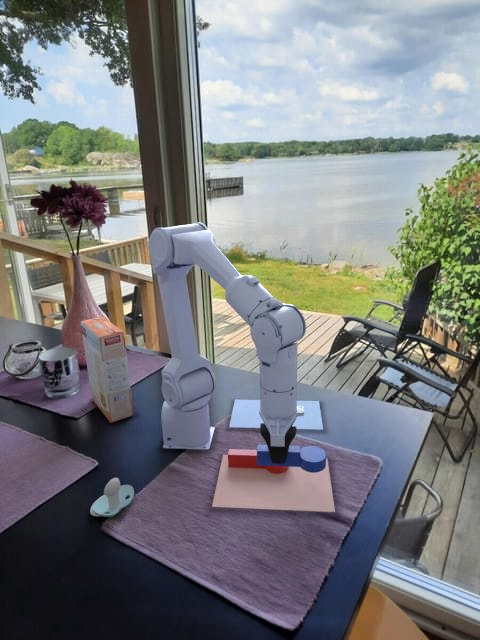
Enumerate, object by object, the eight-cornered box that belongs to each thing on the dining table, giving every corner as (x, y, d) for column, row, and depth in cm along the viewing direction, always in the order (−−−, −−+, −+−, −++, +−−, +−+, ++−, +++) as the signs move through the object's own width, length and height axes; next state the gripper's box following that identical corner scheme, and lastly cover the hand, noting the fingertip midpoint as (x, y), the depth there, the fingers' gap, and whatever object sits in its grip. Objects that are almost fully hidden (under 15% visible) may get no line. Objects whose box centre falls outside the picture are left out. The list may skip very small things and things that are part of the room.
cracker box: (135, 416, 101) (125, 330, 94) (110, 424, 98) (97, 337, 91) (115, 392, 112) (104, 314, 106) (91, 399, 109) (78, 320, 102)
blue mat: (229, 429, 95) (228, 427, 95) (235, 401, 106) (234, 399, 106) (323, 432, 93) (323, 429, 93) (319, 403, 104) (319, 400, 104)
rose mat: (212, 509, 73) (211, 506, 73) (223, 456, 86) (223, 454, 86) (335, 515, 71) (335, 512, 70) (327, 460, 84) (327, 457, 84)
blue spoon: (256, 470, 71) (256, 456, 70) (258, 453, 75) (258, 439, 74) (327, 473, 70) (327, 458, 69) (324, 456, 74) (325, 442, 73)
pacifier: (82, 514, 73) (105, 528, 69) (75, 483, 71) (99, 496, 68) (116, 488, 78) (140, 500, 75) (111, 458, 77) (135, 469, 73)
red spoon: (227, 472, 81) (226, 459, 80) (230, 457, 85) (229, 444, 84) (288, 474, 79) (289, 461, 79) (288, 459, 84) (288, 446, 83)
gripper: (306, 408, 61) (304, 489, 65) (302, 364, 74) (301, 433, 79) (255, 407, 61) (257, 487, 66) (261, 363, 75) (262, 431, 80)
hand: (278, 457), depth 72 cm, fingers closed on blue spoon, 2 cm apart
